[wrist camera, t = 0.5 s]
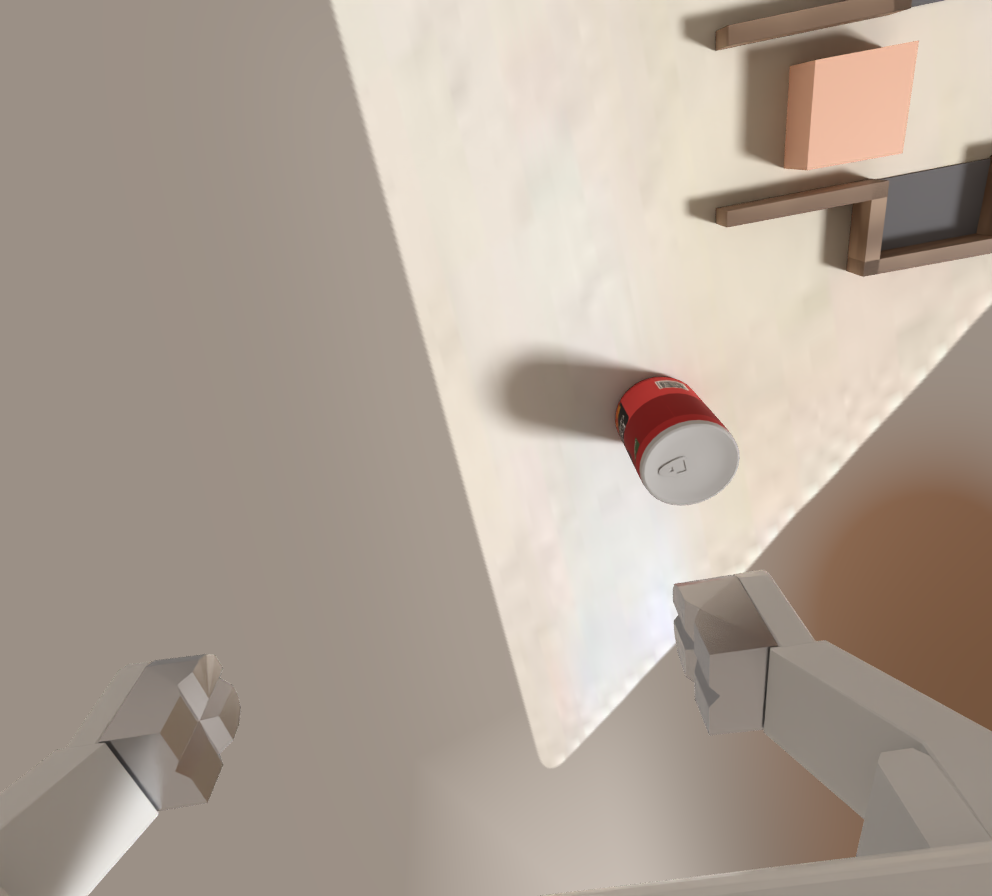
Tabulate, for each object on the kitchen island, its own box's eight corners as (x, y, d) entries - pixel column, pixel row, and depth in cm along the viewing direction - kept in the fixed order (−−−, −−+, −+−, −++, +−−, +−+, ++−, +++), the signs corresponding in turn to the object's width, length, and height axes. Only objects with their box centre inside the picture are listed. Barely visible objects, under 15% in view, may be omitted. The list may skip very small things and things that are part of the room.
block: (788, 66, 44) (815, 59, 40) (883, 48, 44) (918, 40, 40) (782, 168, 47) (807, 170, 44) (870, 152, 47) (902, 153, 43)
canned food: (598, 403, 56) (624, 458, 46) (672, 357, 54) (716, 404, 44) (636, 460, 59) (668, 522, 49) (708, 418, 57) (755, 474, 47)
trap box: (715, -75, 40) (738, -96, 36) (1188, -178, 38) (1261, -211, 34) (716, 294, 51) (733, 305, 48) (1077, 228, 50) (1123, 235, 46)
